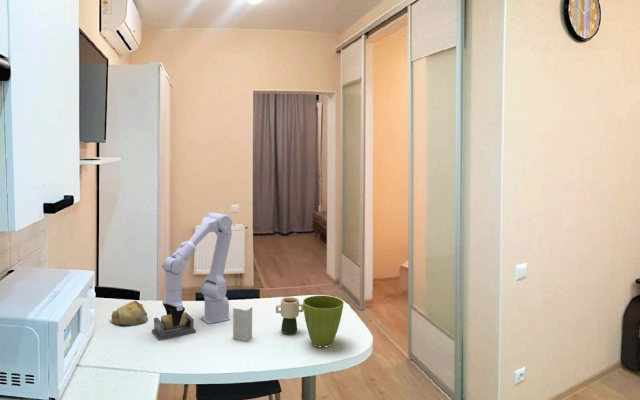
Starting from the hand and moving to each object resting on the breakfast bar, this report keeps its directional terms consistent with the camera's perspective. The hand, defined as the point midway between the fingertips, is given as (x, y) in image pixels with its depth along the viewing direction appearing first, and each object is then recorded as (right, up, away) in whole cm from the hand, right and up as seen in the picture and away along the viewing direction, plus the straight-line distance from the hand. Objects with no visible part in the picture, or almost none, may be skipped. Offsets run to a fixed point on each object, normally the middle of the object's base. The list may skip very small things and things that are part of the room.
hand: (173, 323), depth 182 cm
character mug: (+44, -5, +4) cm, 44 cm away
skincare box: (+27, -5, -3) cm, 27 cm away
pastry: (-21, -2, +11) cm, 23 cm away
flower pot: (+56, -6, -5) cm, 57 cm away
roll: (0, -2, 0) cm, 2 cm away
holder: (0, -4, +1) cm, 4 cm away
